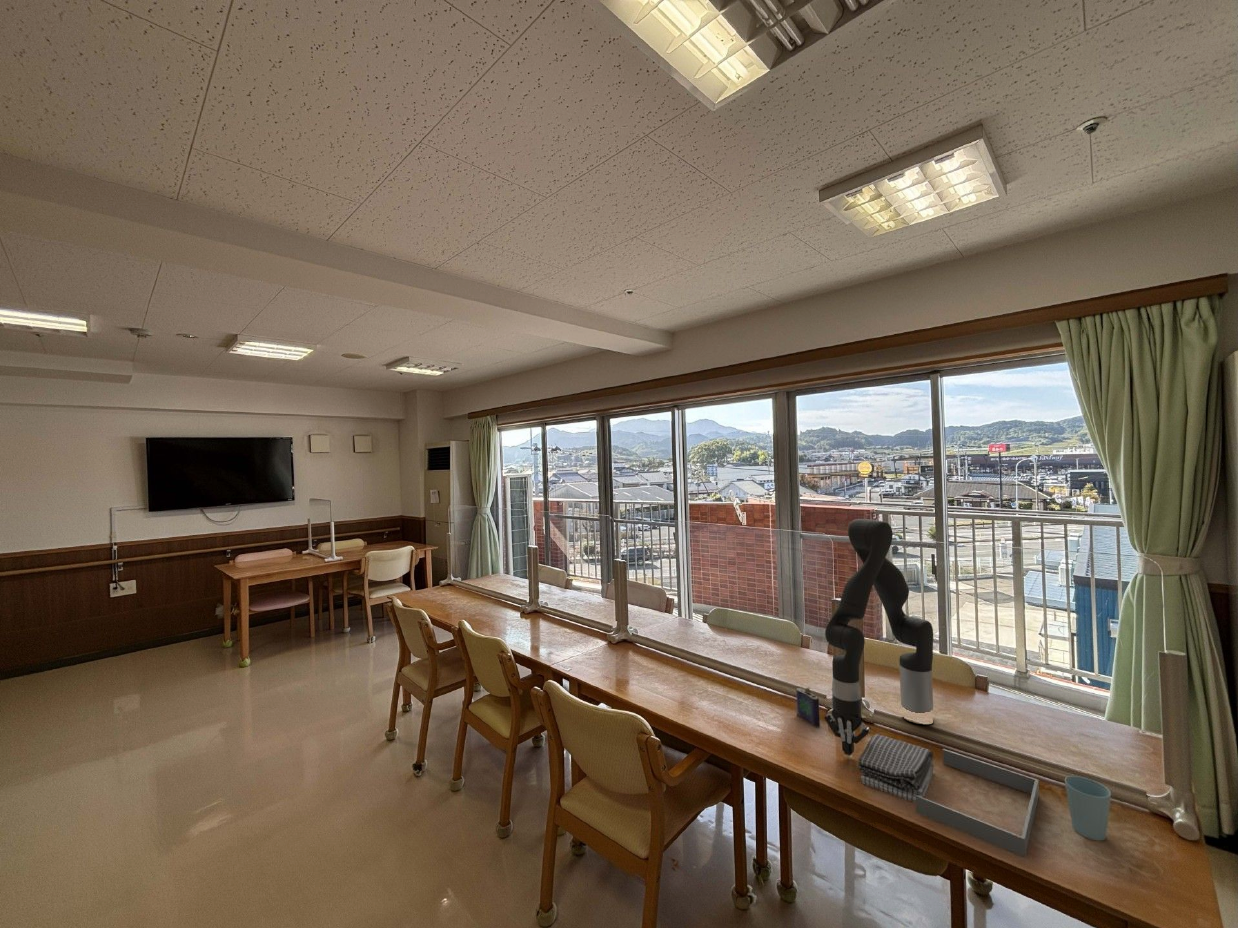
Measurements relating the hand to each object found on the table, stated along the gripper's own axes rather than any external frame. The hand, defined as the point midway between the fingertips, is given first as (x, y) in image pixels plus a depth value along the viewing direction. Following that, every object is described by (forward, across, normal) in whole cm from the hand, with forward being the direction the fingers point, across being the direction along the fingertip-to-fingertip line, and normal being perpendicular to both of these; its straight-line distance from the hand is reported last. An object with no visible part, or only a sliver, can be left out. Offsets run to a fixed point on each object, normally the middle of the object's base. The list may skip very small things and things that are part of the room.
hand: (848, 753), depth 144 cm
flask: (+1, +18, -13) cm, 22 cm away
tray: (+1, -30, -2) cm, 31 cm away
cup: (+1, -50, -7) cm, 51 cm away
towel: (+2, -13, +1) cm, 13 cm away
